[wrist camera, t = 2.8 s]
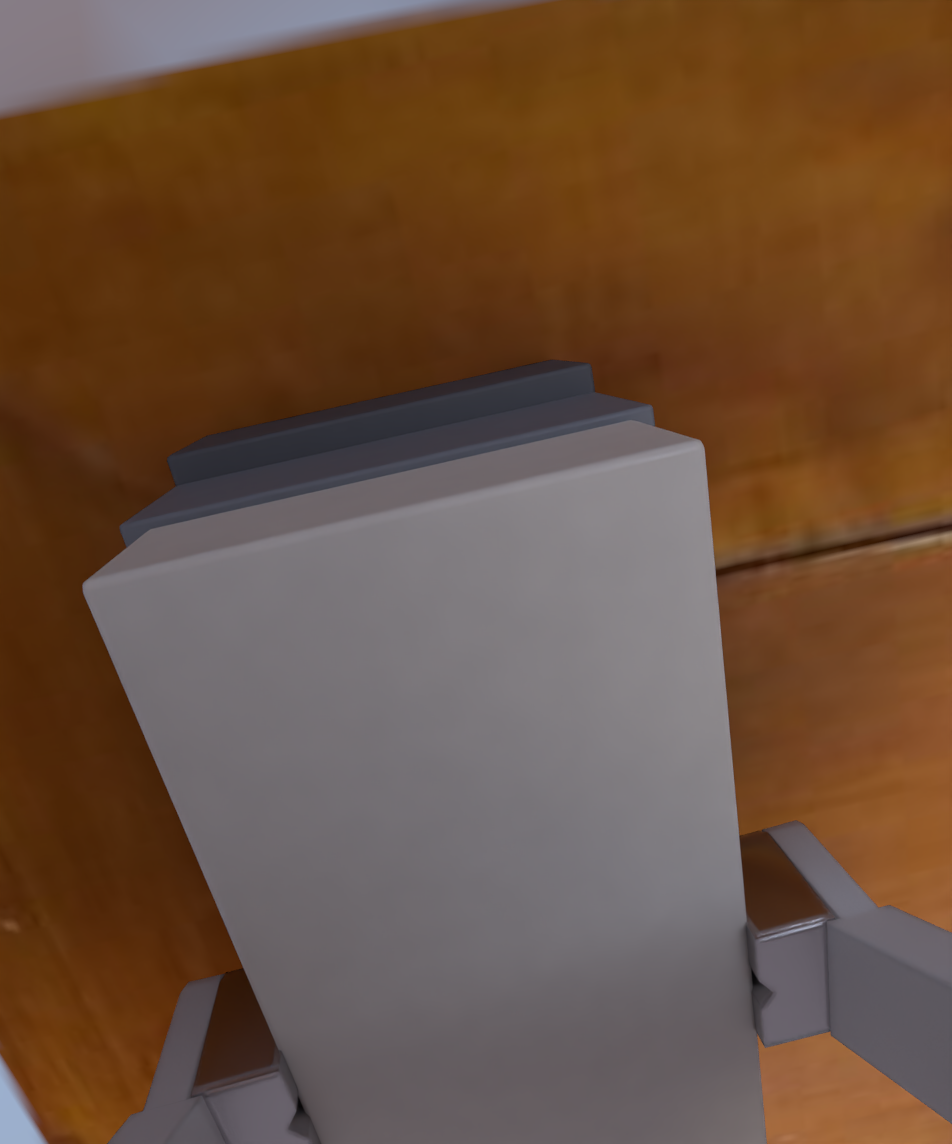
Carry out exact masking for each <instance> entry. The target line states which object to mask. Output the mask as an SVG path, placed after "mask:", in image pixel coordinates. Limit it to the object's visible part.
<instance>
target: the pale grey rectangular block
mask: <svg viewBox="0 0 952 1144" xmlns="http://www.w3.org/2000/svg"><path fill="white" fill-rule="evenodd" d="M83 594H84V596H85V599H86V601H87V603H88V606H89V608H90V610H91V613H92V615H93V617H94V620H95V622H96V624H97V627H98V629H99V631H100V634H101V636H102V638H103V641H104V643H105V645H106V648H107V650H108V652H109V655H110V657H111V659H112V662H113V664H114V666H115V669H116V671H117V673H118V676H119V678H120V680H121V683H122V685H123V687H124V690H125V692H126V694H127V697H128V699H129V701H130V704H131V706H132V708H133V711H134V713H135V715H136V718H137V720H138V722H139V725H140V727H141V729H142V732H143V734H144V736H145V739H146V741H147V743H148V746H149V748H150V751H151V753H152V755H153V758H154V760H155V762H156V765H157V767H158V769H159V772H160V774H161V776H162V779H163V781H164V783H165V786H166V788H167V790H168V793H169V795H170V797H171V800H172V802H173V804H174V807H175V809H176V811H177V814H178V816H179V818H180V821H181V823H182V825H183V828H184V830H185V832H186V835H187V837H188V839H189V842H190V844H191V846H192V849H193V851H194V853H195V856H196V858H197V860H198V863H199V865H200V867H201V870H202V872H203V874H204V877H205V879H206V881H207V884H208V886H209V888H210V891H211V893H212V895H213V898H214V900H215V902H216V905H217V907H218V909H219V912H220V914H221V917H222V919H223V921H224V924H225V926H226V928H227V931H228V933H229V935H230V938H231V940H232V942H233V945H234V947H235V949H236V952H237V954H238V956H239V959H240V961H241V963H242V966H243V968H244V970H245V973H246V975H247V977H248V980H249V982H250V984H251V987H252V989H253V991H254V994H255V996H256V998H257V1001H258V1003H259V1005H260V1008H261V1010H262V1012H263V1015H264V1017H265V1019H266V1022H267V1024H268V1026H269V1029H270V1031H271V1033H272V1036H273V1038H274V1040H275V1043H276V1045H277V1047H278V1050H281V1051H282V1053H283V1055H284V1058H285V1060H286V1062H287V1064H288V1067H289V1069H290V1071H291V1073H292V1076H293V1078H294V1080H295V1083H296V1085H297V1087H298V1090H299V1092H298V1097H299V1099H300V1101H301V1104H302V1106H303V1108H304V1111H305V1113H306V1114H308V1115H309V1116H310V1118H311V1120H312V1123H313V1125H314V1127H315V1130H316V1132H317V1135H318V1137H319V1139H320V1142H321V1144H767V1140H766V1129H765V1118H764V1107H763V1096H762V1085H761V1074H760V1063H759V1051H758V1040H757V1032H756V1030H755V1023H754V1014H753V1004H752V994H751V992H752V989H753V985H752V973H751V967H750V966H749V961H748V949H747V937H746V925H745V923H746V922H747V918H746V907H745V895H744V884H743V873H742V862H741V851H740V840H739V829H738V817H737V806H736V795H735V784H734V773H733V762H732V751H731V739H730V728H729V717H728V706H727V695H726V684H725V673H724V662H723V650H722V639H721V628H720V617H719V606H718V595H717V584H716V572H715V561H714V550H713V539H712V528H711V517H710V506H709V494H708V483H707V472H706V461H705V450H704V446H703V444H702V442H701V441H700V440H697V439H694V438H691V437H687V436H684V435H681V434H677V433H674V432H671V431H668V430H664V429H661V428H658V427H654V426H651V425H648V424H644V423H641V422H638V421H633V420H628V421H624V422H619V423H615V424H611V425H606V426H602V427H597V428H593V429H589V430H584V431H580V432H575V433H571V434H567V435H562V436H558V437H554V438H549V439H545V440H540V441H536V442H532V443H527V444H523V445H518V446H514V447H510V448H505V449H501V450H496V451H492V452H488V453H483V454H479V455H474V456H470V457H466V458H461V459H457V460H452V461H448V462H444V463H439V464H435V465H430V466H426V467H422V468H417V469H413V470H408V471H404V472H400V473H395V474H391V475H386V476H382V477H378V478H373V479H369V480H364V481H360V482H356V483H351V484H347V485H342V486H338V487H334V488H329V489H325V490H320V491H316V492H312V493H307V494H303V495H298V496H294V497H290V498H285V499H281V500H276V501H272V502H268V503H263V504H259V505H254V506H250V507H246V508H241V509H237V510H233V511H228V512H224V513H219V514H215V515H211V516H206V517H202V518H197V519H193V520H189V521H184V522H180V523H175V524H171V525H167V526H162V527H158V528H153V529H150V530H149V531H147V532H146V533H145V534H143V535H142V536H141V537H140V538H138V539H137V540H136V541H135V542H133V543H132V544H131V545H130V546H128V547H127V548H126V549H125V550H123V551H122V552H121V553H120V554H118V555H117V556H116V557H115V558H113V559H112V560H111V561H110V562H108V563H107V564H106V565H105V566H103V567H102V568H101V569H100V570H98V571H97V572H96V573H95V574H94V575H92V576H91V577H90V578H89V579H87V580H86V581H85V582H84V583H83Z"/></svg>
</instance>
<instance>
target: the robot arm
mask: <svg viewBox="0 0 952 1144" xmlns="http://www.w3.org/2000/svg"><path fill="white" fill-rule="evenodd" d="M739 840H740V851H741V862H742V873H743V884H744V895H745V907H746V918H747V922H746V923H745V925H746V937H747V949H748V961H749V966H750V967H751V973H752V985H753V989H752V992H751V994H752V1004H753V1014H754V1023H755V1030H756V1032H757V1034H758V1036H759V1037H760V1039H761V1041H762V1043H763V1045H764V1046H765V1048H766V1047H770V1046H774V1045H778V1044H782V1043H786V1042H790V1041H794V1040H798V1039H802V1038H806V1037H810V1036H814V1035H818V1034H822V1033H826V1032H830V1031H831V1036H833V1037H834V1038H835V1039H837V1040H838V1041H839V1042H841V1043H842V1044H843V1045H845V1046H846V1047H848V1048H849V1049H850V1050H852V1051H853V1052H854V1053H856V1054H857V1055H859V1056H860V1057H861V1058H863V1059H864V1060H865V1061H867V1062H868V1063H869V1064H871V1065H872V1066H874V1067H875V1068H876V1069H878V1070H879V1071H880V1072H882V1073H883V1074H884V1075H886V1076H887V1077H889V1078H890V1079H891V1080H893V1081H894V1082H895V1083H897V1084H898V1085H900V1086H901V1087H902V1088H904V1089H905V1090H906V1091H908V1092H909V1093H910V1094H912V1095H913V1096H915V1097H916V1098H917V1099H919V1100H920V1101H921V1102H923V1103H924V1104H925V1105H927V1106H928V1107H930V1108H931V1109H932V1110H934V1111H935V1112H936V1113H938V1114H939V1115H941V1116H942V1117H943V1118H945V1119H946V1120H947V1121H949V1122H950V1123H951V1124H952V933H951V932H949V931H946V930H944V929H942V928H940V927H938V926H935V925H933V924H931V923H929V922H926V921H924V920H922V919H920V918H917V917H915V916H913V915H911V914H908V913H906V912H904V911H902V910H900V909H897V908H895V907H893V906H891V905H888V906H883V907H879V908H878V907H877V905H876V904H875V903H874V902H873V901H872V900H871V899H870V898H869V897H868V895H867V894H866V893H865V892H864V891H863V890H862V889H861V888H860V886H859V885H858V884H857V883H856V882H855V881H854V880H853V879H852V878H851V876H850V875H849V874H848V873H847V872H846V871H845V870H844V869H843V867H842V866H841V865H840V864H839V863H838V862H837V861H836V860H835V859H834V857H833V856H832V855H831V854H830V853H829V852H828V851H827V850H826V848H825V847H824V846H823V845H822V844H821V843H820V842H819V841H818V840H817V838H816V837H815V836H814V835H813V834H812V833H811V832H810V831H809V829H808V828H807V827H806V826H805V825H804V824H802V823H800V822H798V821H797V820H795V821H792V822H788V823H784V824H781V825H777V826H774V827H770V828H767V829H763V830H762V831H756V832H752V833H749V834H745V835H742V836H739ZM298 1092H299V1090H298V1087H297V1085H296V1083H295V1080H294V1078H293V1076H292V1073H291V1071H290V1069H289V1067H288V1064H287V1062H286V1060H285V1058H284V1055H283V1053H282V1051H281V1050H278V1047H277V1045H276V1043H275V1040H274V1038H273V1036H272V1033H271V1031H270V1029H269V1026H268V1024H267V1022H266V1019H265V1017H264V1015H263V1012H262V1010H261V1008H260V1005H259V1003H258V1001H257V998H256V996H255V994H254V991H253V989H252V987H251V984H250V982H249V980H248V977H247V975H246V973H245V970H244V968H242V969H238V970H234V971H230V972H226V973H225V974H221V975H216V976H212V977H208V978H204V979H200V980H195V981H191V982H188V983H187V985H186V986H185V988H184V989H183V990H182V992H181V993H180V995H179V998H178V1001H177V1005H176V1008H175V1011H174V1014H173V1017H172V1021H171V1024H170V1027H169V1030H168V1033H167V1037H166V1040H165V1043H164V1046H163V1049H162V1053H161V1056H160V1059H159V1062H158V1065H157V1069H156V1072H155V1075H154V1078H153V1081H152V1084H151V1088H150V1091H149V1094H148V1097H147V1100H146V1104H145V1107H144V1110H143V1111H142V1112H138V1113H135V1114H132V1115H130V1117H129V1118H128V1119H127V1120H126V1121H125V1123H124V1124H123V1125H122V1126H121V1127H120V1129H119V1130H118V1131H117V1132H116V1134H115V1135H114V1136H113V1137H112V1138H111V1140H110V1141H109V1142H108V1143H107V1144H321V1142H320V1139H319V1137H318V1135H317V1132H316V1130H315V1127H314V1125H313V1123H312V1120H311V1118H310V1116H309V1115H308V1114H306V1113H305V1111H304V1108H303V1106H302V1104H301V1101H300V1099H299V1097H298Z"/></svg>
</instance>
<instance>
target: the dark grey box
mask: <svg viewBox="0 0 952 1144" xmlns="http://www.w3.org/2000/svg"><path fill="white" fill-rule="evenodd" d="M628 420H633V421H638V422H641V423H644V424H648V425H651V426H654V427H655V421H654V413H653V408H652V406H651V405H648V404H644V403H639V402H635V401H631V400H626V399H622V398H617V397H613V396H609V395H604V394H600V393H595V388H594V381H593V374H592V367H591V365H590V364H589V363H581V362H570V361H560V360H548V361H544V362H539V363H535V364H530V365H526V366H521V367H516V368H512V369H507V370H503V371H498V372H494V373H489V374H485V375H480V376H476V377H471V378H467V379H462V380H458V381H453V382H448V383H444V384H439V385H435V386H430V387H426V388H421V389H417V390H412V391H408V392H403V393H399V394H394V395H390V396H385V397H381V398H376V399H371V400H367V401H362V402H358V403H353V404H349V405H344V406H340V407H335V408H331V409H326V410H322V411H317V412H313V413H308V414H303V415H299V416H294V417H290V418H285V419H281V420H276V421H272V422H267V423H263V424H258V425H254V426H249V427H245V428H240V429H235V430H231V431H226V432H222V433H217V434H213V435H208V436H206V437H204V438H202V439H200V440H198V441H196V442H194V443H192V444H190V445H189V446H187V447H185V448H183V449H181V450H179V451H177V452H175V453H173V454H172V455H170V456H169V457H167V462H168V465H169V468H170V471H171V473H172V476H173V479H174V482H175V485H176V487H174V488H173V489H171V490H170V491H169V492H167V493H166V494H164V495H163V496H161V497H160V498H159V499H157V500H156V501H154V502H153V503H151V504H150V505H149V506H147V507H146V508H144V509H143V510H141V511H140V512H139V513H137V514H136V515H134V516H133V517H131V518H130V519H128V520H127V521H126V522H124V523H123V524H121V525H120V532H121V534H122V537H123V539H124V542H125V544H126V547H128V546H130V545H131V544H132V543H133V542H135V541H136V540H137V539H138V538H140V537H141V536H142V535H143V534H145V533H146V532H147V531H149V530H150V529H153V528H158V527H162V526H167V525H171V524H175V523H180V522H184V521H189V520H193V519H197V518H202V517H206V516H211V515H215V514H219V513H224V512H228V511H233V510H237V509H241V508H246V507H250V506H254V505H259V504H263V503H268V502H272V501H276V500H281V499H285V498H290V497H294V496H298V495H303V494H307V493H312V492H316V491H320V490H325V489H329V488H334V487H338V486H342V485H347V484H351V483H356V482H360V481H364V480H369V479H373V478H378V477H382V476H386V475H391V474H395V473H400V472H404V471H408V470H413V469H417V468H422V467H426V466H430V465H435V464H439V463H444V462H448V461H452V460H457V459H461V458H466V457H470V456H474V455H479V454H483V453H488V452H492V451H496V450H501V449H505V448H510V447H514V446H518V445H523V444H527V443H532V442H536V441H540V440H545V439H549V438H554V437H558V436H562V435H567V434H571V433H575V432H580V431H584V430H589V429H593V428H597V427H602V426H606V425H611V424H615V423H619V422H624V421H628Z"/></svg>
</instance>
